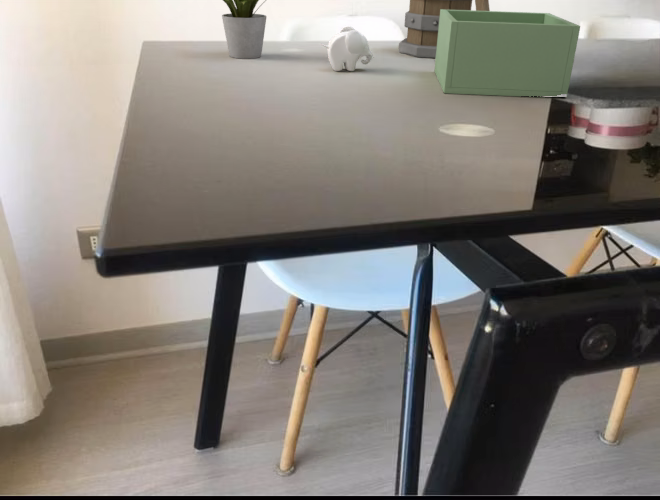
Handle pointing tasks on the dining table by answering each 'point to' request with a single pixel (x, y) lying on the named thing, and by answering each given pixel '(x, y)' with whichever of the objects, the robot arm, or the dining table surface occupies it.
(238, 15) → the house plant
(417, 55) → the tankard
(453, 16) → the bin
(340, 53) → the elephant figurine
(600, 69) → the dining table surface
